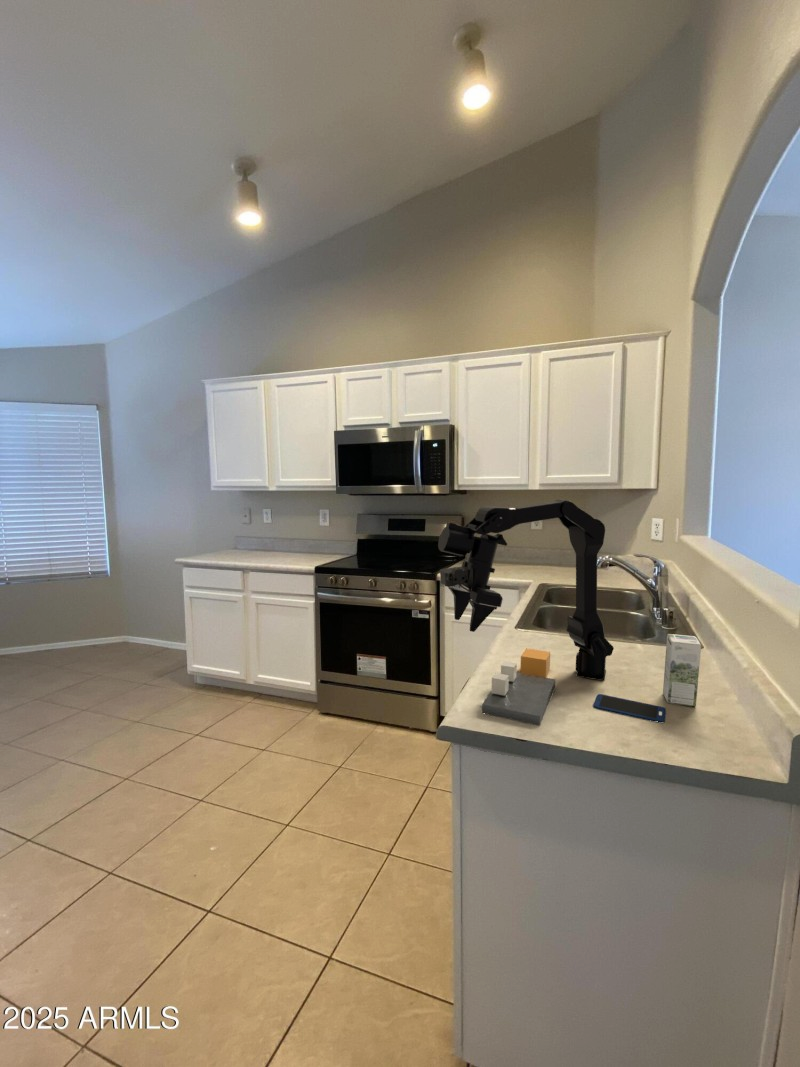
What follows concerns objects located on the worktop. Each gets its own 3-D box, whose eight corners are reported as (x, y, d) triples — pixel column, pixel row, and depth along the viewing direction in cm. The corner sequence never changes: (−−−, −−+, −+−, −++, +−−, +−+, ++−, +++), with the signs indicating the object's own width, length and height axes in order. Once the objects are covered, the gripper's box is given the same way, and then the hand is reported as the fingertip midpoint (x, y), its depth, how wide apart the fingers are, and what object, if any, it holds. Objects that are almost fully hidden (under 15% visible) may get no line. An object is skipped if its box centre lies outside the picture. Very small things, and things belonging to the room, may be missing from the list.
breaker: (508, 690, 111) (508, 675, 111) (504, 695, 109) (505, 680, 108) (495, 687, 113) (495, 672, 112) (491, 693, 110) (491, 677, 109)
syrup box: (690, 696, 113) (695, 635, 111) (696, 708, 108) (701, 643, 106) (662, 693, 115) (666, 632, 113) (667, 704, 110) (671, 640, 108)
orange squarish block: (549, 670, 128) (550, 651, 128) (545, 679, 123) (546, 660, 122) (525, 666, 131) (526, 648, 130) (520, 674, 126) (520, 656, 125)
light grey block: (516, 677, 118) (516, 663, 118) (513, 681, 116) (513, 667, 115) (503, 675, 120) (504, 661, 119) (500, 679, 117) (501, 665, 117)
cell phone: (664, 725, 101) (664, 721, 101) (592, 709, 108) (592, 706, 108) (666, 710, 107) (666, 707, 107) (597, 696, 114) (597, 693, 114)
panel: (555, 687, 118) (555, 677, 118) (539, 725, 100) (540, 714, 100) (505, 678, 123) (505, 669, 123) (481, 713, 105) (482, 702, 105)
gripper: (435, 547, 121) (419, 608, 122) (464, 560, 103) (446, 632, 104) (476, 556, 124) (460, 616, 125) (511, 570, 107) (493, 640, 107)
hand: (464, 625), depth 116 cm, fingers open, 9 cm apart
